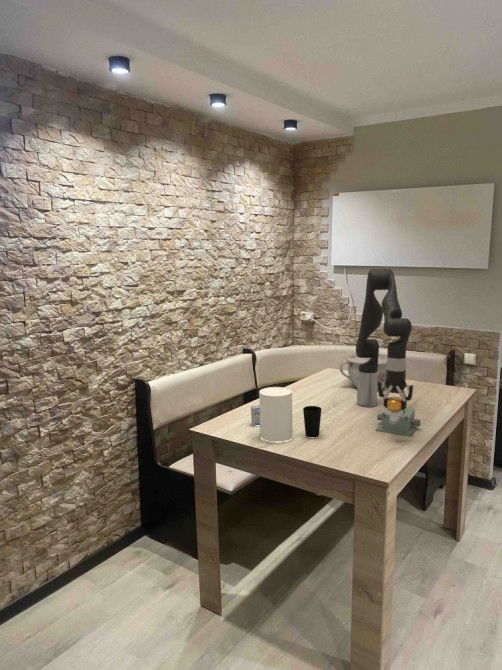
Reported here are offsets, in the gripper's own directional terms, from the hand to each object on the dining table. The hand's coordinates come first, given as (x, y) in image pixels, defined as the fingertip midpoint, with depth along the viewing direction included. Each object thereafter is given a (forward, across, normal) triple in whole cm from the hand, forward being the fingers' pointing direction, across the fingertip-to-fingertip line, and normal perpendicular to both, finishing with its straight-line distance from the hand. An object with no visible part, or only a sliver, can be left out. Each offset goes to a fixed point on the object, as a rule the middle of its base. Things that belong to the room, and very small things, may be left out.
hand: (394, 408), depth 200 cm
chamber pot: (+15, -31, +75) cm, 82 cm away
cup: (+14, -32, -9) cm, 36 cm away
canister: (+14, -45, -17) cm, 50 cm away
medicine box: (+14, -58, -6) cm, 60 cm away
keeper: (+7, -2, +9) cm, 11 cm away
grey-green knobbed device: (+14, -2, +17) cm, 22 cm away
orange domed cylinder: (+6, 0, 0) cm, 6 cm away
